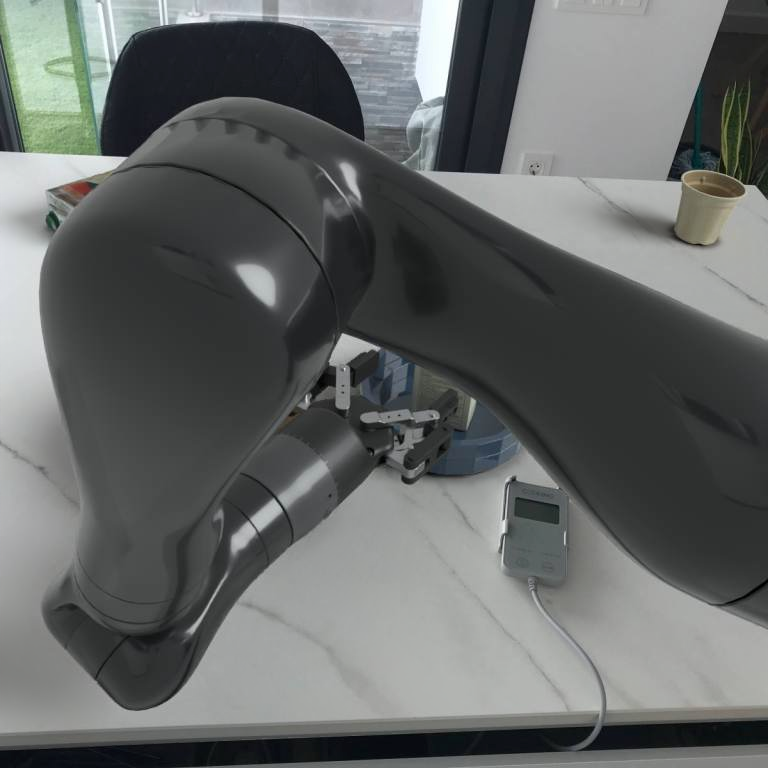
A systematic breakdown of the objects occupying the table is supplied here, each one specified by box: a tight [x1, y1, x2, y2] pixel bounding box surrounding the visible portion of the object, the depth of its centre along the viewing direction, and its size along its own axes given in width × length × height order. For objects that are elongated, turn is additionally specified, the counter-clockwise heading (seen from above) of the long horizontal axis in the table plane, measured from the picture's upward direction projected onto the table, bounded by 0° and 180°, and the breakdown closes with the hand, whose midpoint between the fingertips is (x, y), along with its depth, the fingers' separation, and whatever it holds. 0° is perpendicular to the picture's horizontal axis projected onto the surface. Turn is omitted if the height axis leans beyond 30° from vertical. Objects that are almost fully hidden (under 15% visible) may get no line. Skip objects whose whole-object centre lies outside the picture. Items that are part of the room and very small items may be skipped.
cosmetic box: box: [411, 364, 476, 431], centre depth 78 cm, size 6×4×12 cm
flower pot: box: [673, 169, 749, 246], centre depth 116 cm, size 9×9×9 cm
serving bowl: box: [359, 347, 522, 476], centre depth 80 cm, size 18×18×4 cm
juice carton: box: [45, 168, 116, 231], centre depth 107 cm, size 20×10×6 cm, turn 138°
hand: (413, 377), depth 70 cm, fingers open, 8 cm apart
